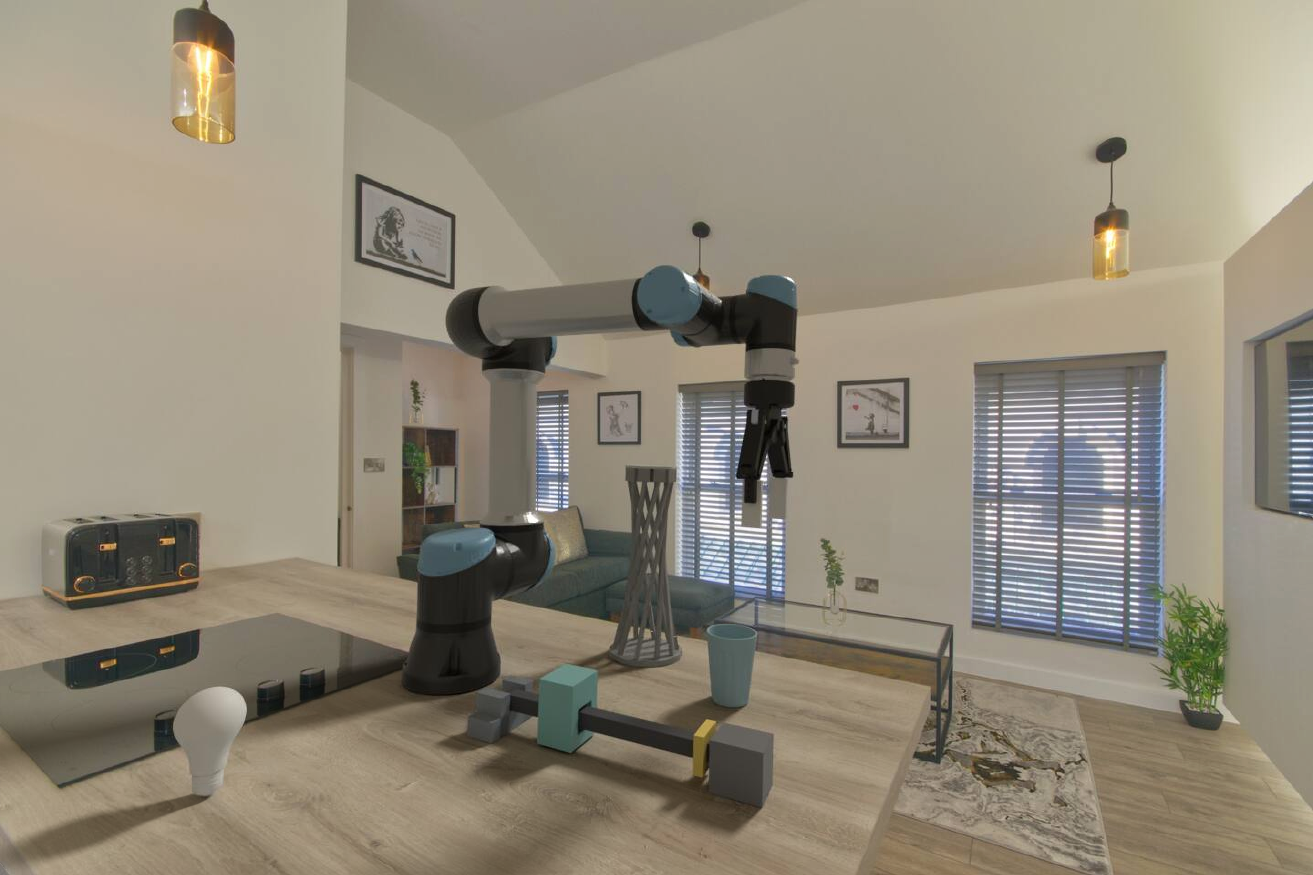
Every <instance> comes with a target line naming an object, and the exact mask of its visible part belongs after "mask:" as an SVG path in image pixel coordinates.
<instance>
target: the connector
mask: <svg viewBox="0 0 1313 875" xmlns="http://www.w3.org/2000/svg"><path fill="white" fill-rule="evenodd" d="M774 735H775V734H774V733H772V732H767V731H764V730H760V729H754V728H750V727H746V726H741V725H737V724H733V723H728V722H724V721H723V722H722V723H721V725H720V726H719V727H718V728H717V729H716V733H715V734H714V735H713V737H712V738H711V739H710V756H709V769H708V794H712V795H716V796H719V797H723V798H726V799H729V800H732V801H733V800H734V801H736V802H739V803H744V804H747V805H751V806H755V807H756V808H757V807H758V808H761V809H763V808H764V805H765V802H766V800H767V798H768V796H769V794H770V791H771V789H772V787H773V785H774V784H773V783H774V782H773V779H774V743H775V742H774V738H775V736H774Z"/></svg>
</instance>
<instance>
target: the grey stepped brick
mask: <svg viewBox="0 0 1313 875" xmlns="http://www.w3.org/2000/svg"><path fill="white" fill-rule="evenodd" d="M515 689H520V690H524V691H528V692H532V693H534V680H533V679H529V678H524V677H521V676H516V675H511V674H510V675H508V676H506V677H504V678H503V679H501V690H497V689H494V688H489V687H485V688H483V689H481V690H479V691H477V693H476V712H474V713H471V714H470V715H469V716H467V731H466V732H467V733H466V737H469V738H472V739H475V740H478V741H481V742H484V743H485V742H486V743H488V744H493V743H495V742H496V741H498V740H499V739H500V738H503V736H505V735H507V734H508V733H510V732H511V731H513V730H514V729H516V728H517V727H519V726H520V725H521V724H523V723H524V722H526V721H528V720H529V719H531V718H532V717H533V716H530V715H526V714H522V713H519V712H515V711H511V710H510V692H512V691H514V690H515Z"/></svg>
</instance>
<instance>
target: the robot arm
mask: <svg viewBox="0 0 1313 875" xmlns="http://www.w3.org/2000/svg"><path fill="white" fill-rule="evenodd" d="M797 297H798V294H797V285H796V282H794V280H793V279H792V278H790V277H788V276H785V275H780V274H779V275H778V274H764V275H760V276H757V277H753V278H751V279H750V280H749V281H748V283H747V286H746V290H745V293H742V294H735V295H725V296H724V295H723V296H716V295H715V294H713V293H712V292H711V291H709V290H708V289H707V288H706V287H705V286H703V285H702V284H701V283H700V282H698V281H697V280H696V279H695V278H694V277H693V276H692V275H691V274H690V273H689V272H687V271H686V270H685V271H684V270H682V269H680V268H678V267H677V266H673V265H670V264H661V265H657V266H655V267H654V268H652V269H650V270H649V271H648V272H646V273H645V274H644V276H642V277H637V278H627V279H614V280H607V281H597V282H596V281H595V282H586V283H585V282H584V283H577V284H576V283H575V284H566V285H555V286H545V287H535V288H526V289H516V290H515V289H514V290H508V289H506V288H505V287H503V286H501V285H488V286H481V287H480V286H479V287H473V288H469V289H467V290H464V291H462V292H460V293H459V294H457V295H455V297H454V298H453V299H452V300H451V302H450V303H449V305H448V306H447V310H446V314H445V328H446V333H447V335H448V337H449V339H450V341H451V342H452V343H453V345H455V346H456V348H457V349H459V350H460V351H461V352H463V353H464V354H466V355H468V356H470V357H474V358H477V359H480V360H481V375H482V376H483V377H484V378H485V379H486V380H487V381H488V382H489V431H488V432H489V434H488V436H489V437H488V438H489V443H488V445H489V449H488V452H489V453H488V503H487V504H488V510H487V513H486V514H485V515H484V516H483V517H482V518H481V519H480V520H479V527H475V526H474V527H471V526H470V527H461V528H451V529H446V530H442V531H439V532H435V533H433V534H431V535H428V536H427V537H426V538H425V539H424V540H423V541H422V543H421V544H420V546H419V547H420V548H419V558H418V561H417V565H416V567H417V587H416V588H417V590H416V593H417V595H416V617H415V618H416V625H415V633H414V635H413V638H412V640H411V644H410V647H409V650H408V654H407V658H406V659H405V660H404V662H403V664H402V670H401V673H402V674H401V685H402V686H403V687H404V688H406V689H407V690H409V691H412V692H414V693H419V694H424V695H451V694H452V695H453V694H454V695H455V694H461V693H466V692H470V691H474V690H478V689H481V688H483V687H485V686H488V685H490V684H492V683H493V682H495V681H496V680H497V679H498V678H499V677H500V675H501V670H502V669H501V668H502V665H501V663H502V662H501V660H502V658H501V656H500V653H499V652H498V647H497V645H496V644H497V643H496V640H495V636H494V632H493V628H492V617H493V616H492V614H493V613H492V612H493V602H494V601H498V600H501V599H505V598H507V597H510V596H513V595H516V594H523V593H527V592H529V591H530V590H532V589H534V588H537V587H538V586H541V585H542V584H543V583H544V582H545V581H546V580H547V579H548V578H549V576H550V575H551V573H552V571H553V568H554V567H555V566H554V565H555V563H556V562H555V561H556V548H555V542H554V541H553V539H551V538H550V534H549V533H548V532H547V531H546V530H544V529H545V528H544V527H545V523H544V521H545V519H544V518H543V517H541V515H540V514H539V513H538V512H537V510H536V509H537V508H536V507H537V506H536V504H537V503H536V498H537V490H536V489H537V432H538V431H537V427H538V426H537V423H538V422H537V417H538V416H537V415H538V414H537V413H538V411H537V410H538V384H539V383H540V382H541V381H543V380H544V378H546V368H547V367H548V366H550V364H551V362H552V359H554V358H555V357H556V353H557V349H558V338H557V337H562V336H566V337H567V336H579V335H582V336H584V335H597V334H598V335H600V334H614V333H615V334H616V333H630V332H643V331H644V332H651V331H653V332H655V331H669V333H670V336H671V338H672V339H673V341H674V343H675V344H676V345H677V346H679V347H686V348H687V347H693V348H697V349H698V348H701V347H711V346H728V345H742V344H743V345H744V344H745V352H744V373H743V375H744V376H743V377H744V379H746V380H747V382H745V384H743V387H744V388H743V389H744V390H743V404H744V406H745V407H747V408H750V409H747V410H746V415H745V416H746V417H745V419H746V420H745V428H744V433H743V438H742V443H741V449H740V453H739V457H738V458H739V460H738V463H737V468H736V472H735V473H736V474H735V477H736V479H737V480H742V490H741V492H742V493H741V494H742V495H741V520H740V522H741V523H740V524H741V525H740V526H741V527H746V528H756V529H761V528H762V526H763V524H762V523H763V494H764V491H763V490H764V480H762V479H761V477H762V473H763V470H764V467H765V462H766V459H767V457H768V462H769V466H770V471H771V476H772V477H769V496H768V497H769V498H768V499H769V500H768V501H769V503H768V519H774V520H775V519H777V520H787V519H788V518H787V516H788V515H787V514H788V488H789V487H788V482H789V480H788V479H793V478H794V471H793V468H792V462H791V461H792V459H791V449H790V440H789V438H790V437H789V432H788V431H789V430H788V428H789V418H788V416H787V415H782V410H783V409H791V408H792V407H794V406H795V398H796V397H795V396H796V385H795V383H794V382H792V380H794V379H795V377H796V367H795V366H796V365H799V363H800V359H799V358H798V357H796V350H797V348H796V347H797V346H796V345H797V327H798V326H797V323H798V312H799V308H798V298H797Z"/></svg>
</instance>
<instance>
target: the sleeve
mask: <svg viewBox="0 0 1313 875" xmlns="http://www.w3.org/2000/svg"><path fill="white" fill-rule="evenodd" d="M598 673H599V670H597V669H593V668H587V667H583V666H579V665H575V664H574V665H573V664H569V663H565V664H563V665H561V666H560V667H557V668H556V669H555V670H552V671H551V672H549V673H548V674H545V675H544V676H542V677H539V679H538V680H539V681H538V682H539V683H538V684H539V686H538V694H539V704H538V717H537V737H536V738H537V739H536V741H537V742H536V744H537V745H541V746H546V747H549V748H551V749H556V750H559V751H563V752H565V753H569V754H571V753H573V752H574V751H575V750H576V749H577V748H579V747H580V746H581V745H583V744H584V743H585V742H586V741H587V740H588V739H590V738H591V737H592V736H593V735H595V732H591V731H587V730H584V729H580V728H578V709H580V708H581V707H582V706H584V705H586V706H590V707H594V708H598V683H599V681H598V677H599V676H598V675H599V674H598Z"/></svg>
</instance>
